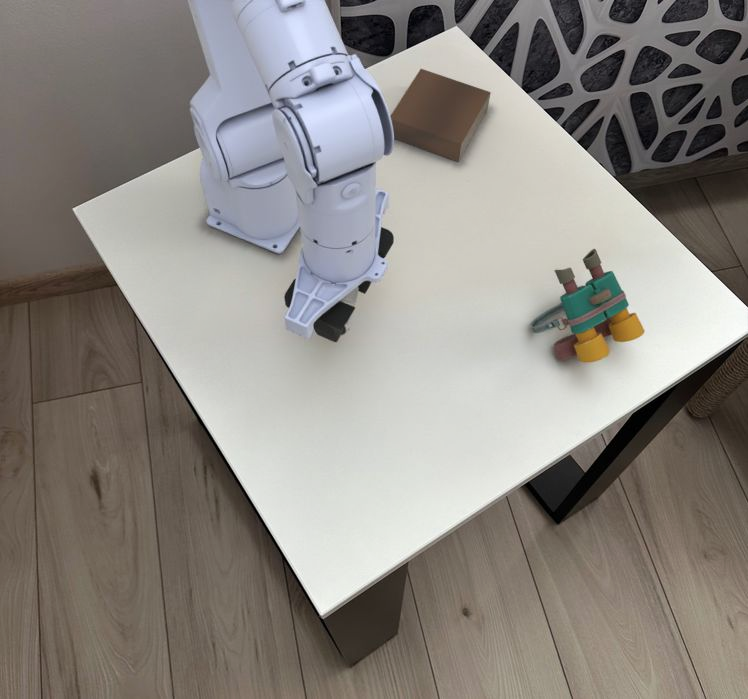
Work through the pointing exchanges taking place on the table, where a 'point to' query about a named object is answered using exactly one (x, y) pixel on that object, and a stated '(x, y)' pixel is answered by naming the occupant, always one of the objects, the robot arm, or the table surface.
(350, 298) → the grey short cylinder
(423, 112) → the brown square tile
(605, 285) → the binoculars
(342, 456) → the table surface
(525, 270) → the table surface
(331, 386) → the table surface
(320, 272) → the robot arm
